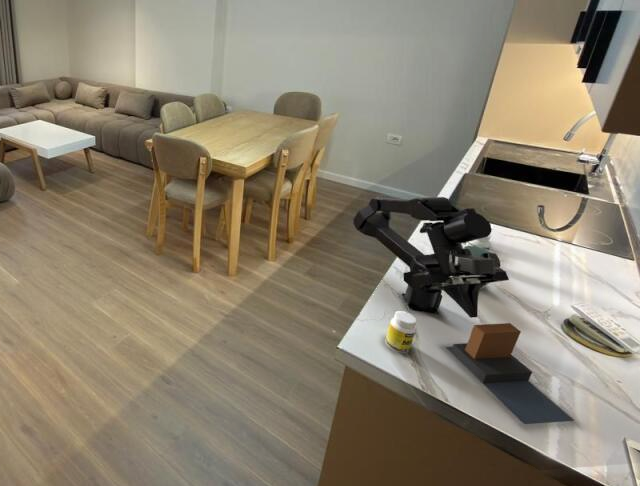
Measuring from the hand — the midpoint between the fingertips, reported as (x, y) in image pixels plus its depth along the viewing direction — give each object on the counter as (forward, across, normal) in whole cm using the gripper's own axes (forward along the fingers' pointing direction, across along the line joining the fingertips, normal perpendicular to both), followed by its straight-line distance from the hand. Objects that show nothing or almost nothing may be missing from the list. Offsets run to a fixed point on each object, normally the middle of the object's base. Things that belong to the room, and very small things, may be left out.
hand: (473, 317), depth 87 cm
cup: (-9, +21, +21) cm, 31 cm away
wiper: (+10, 0, +1) cm, 10 cm away
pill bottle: (-16, +31, +28) cm, 45 cm away
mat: (+12, 0, -1) cm, 13 cm away
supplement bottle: (+5, -15, +7) cm, 17 cm away
